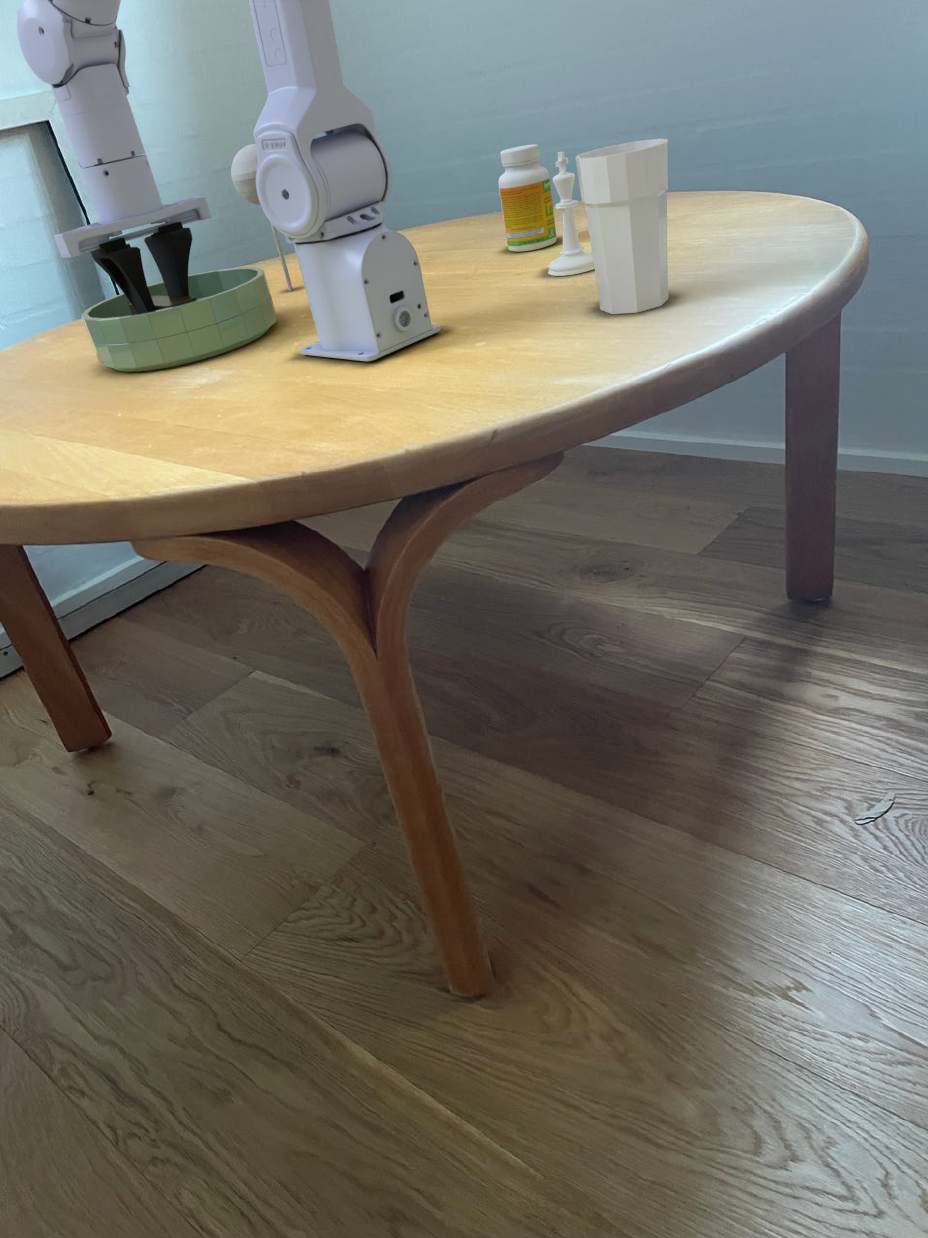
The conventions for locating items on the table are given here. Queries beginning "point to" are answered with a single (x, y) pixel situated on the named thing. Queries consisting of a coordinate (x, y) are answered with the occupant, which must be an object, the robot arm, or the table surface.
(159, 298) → the block
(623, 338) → the table surface
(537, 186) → the supplement bottle
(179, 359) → the bowl
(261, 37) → the robot arm
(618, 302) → the cup
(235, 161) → the lollipop
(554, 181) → the chess piece
